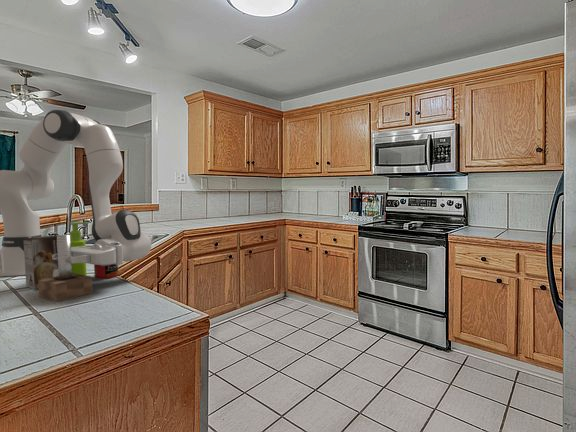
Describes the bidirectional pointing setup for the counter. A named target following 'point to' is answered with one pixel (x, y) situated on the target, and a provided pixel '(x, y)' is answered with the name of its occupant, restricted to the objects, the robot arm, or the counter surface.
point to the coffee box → (39, 259)
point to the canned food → (105, 271)
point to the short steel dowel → (55, 272)
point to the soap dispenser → (76, 241)
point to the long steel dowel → (64, 257)
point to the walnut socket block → (65, 287)
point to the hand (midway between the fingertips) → (61, 259)
